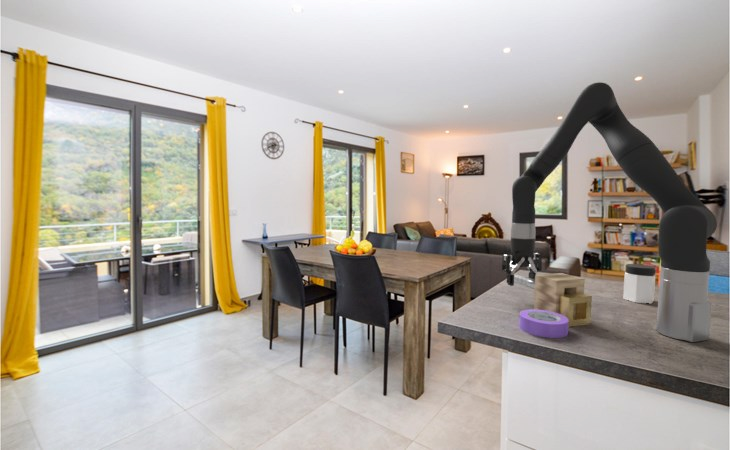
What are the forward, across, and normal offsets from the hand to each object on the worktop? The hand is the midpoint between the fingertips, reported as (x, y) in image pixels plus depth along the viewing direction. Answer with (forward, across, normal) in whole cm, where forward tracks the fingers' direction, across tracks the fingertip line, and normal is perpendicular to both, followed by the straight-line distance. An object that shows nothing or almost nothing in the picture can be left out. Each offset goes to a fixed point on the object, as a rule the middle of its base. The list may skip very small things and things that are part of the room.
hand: (521, 284), depth 119 cm
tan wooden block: (+6, 0, -15) cm, 17 cm away
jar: (+6, +41, -10) cm, 43 cm away
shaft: (0, 0, -7) cm, 7 cm away
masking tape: (+7, -12, -22) cm, 26 cm away
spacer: (+6, 0, -21) cm, 22 cm away
